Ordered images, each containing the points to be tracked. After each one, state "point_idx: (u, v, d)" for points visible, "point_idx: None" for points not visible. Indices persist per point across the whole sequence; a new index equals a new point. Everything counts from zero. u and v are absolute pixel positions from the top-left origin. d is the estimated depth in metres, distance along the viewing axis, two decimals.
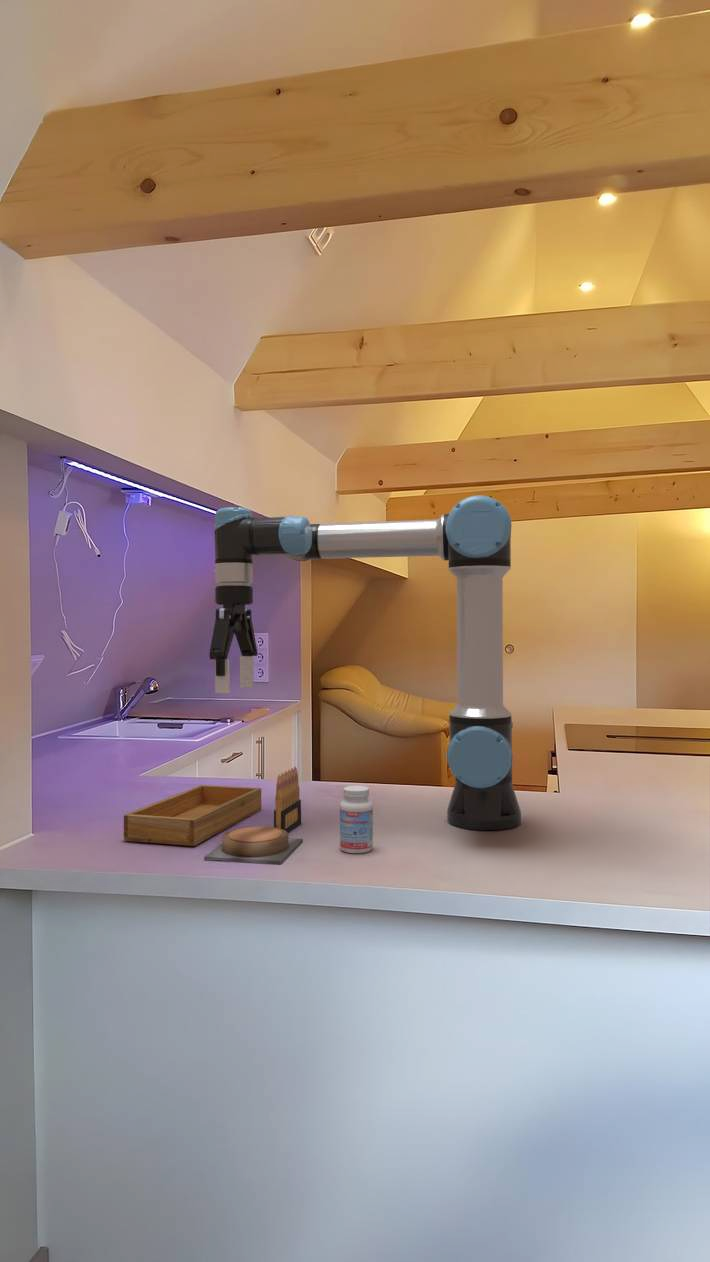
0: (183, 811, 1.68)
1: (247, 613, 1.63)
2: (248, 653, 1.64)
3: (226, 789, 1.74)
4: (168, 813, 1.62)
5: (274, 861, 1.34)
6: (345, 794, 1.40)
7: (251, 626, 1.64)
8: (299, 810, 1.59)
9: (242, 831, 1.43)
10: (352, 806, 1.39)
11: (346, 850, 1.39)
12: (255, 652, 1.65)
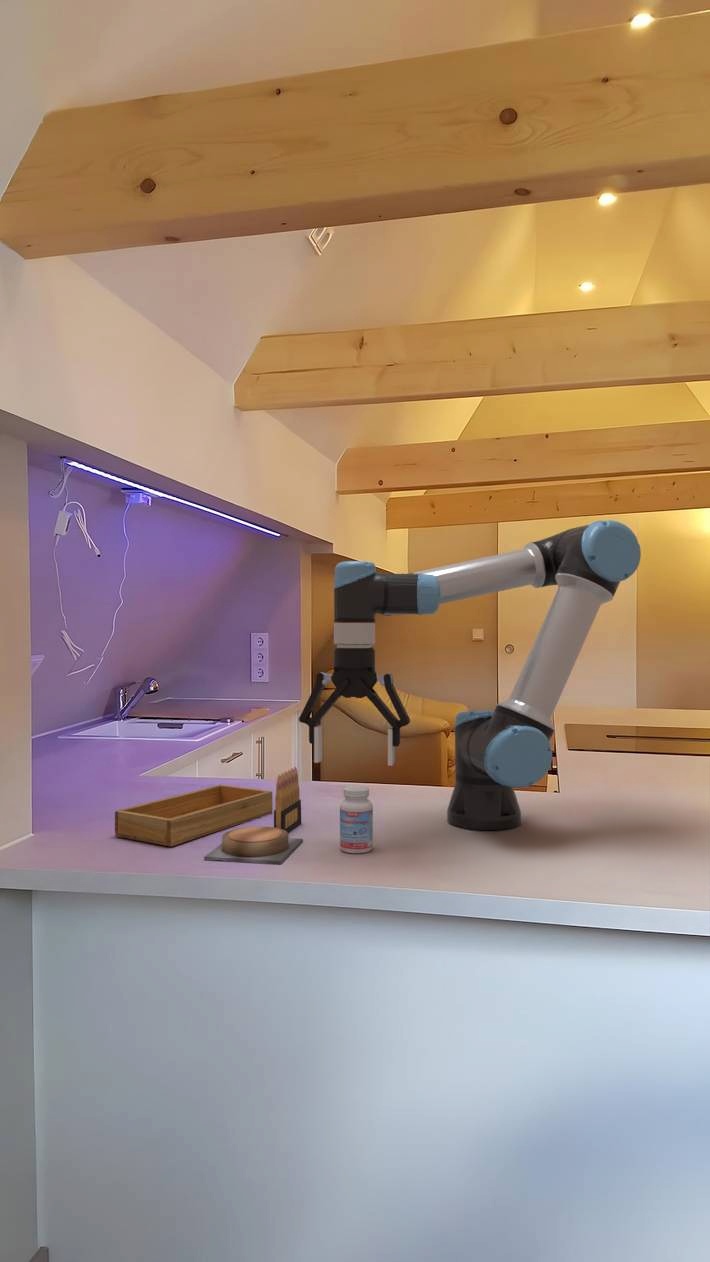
0: (193, 810, 1.69)
1: None
2: None
3: (241, 790, 1.73)
4: (173, 812, 1.63)
5: (274, 861, 1.34)
6: (345, 794, 1.40)
7: (390, 694, 1.39)
8: (299, 810, 1.59)
9: (242, 831, 1.43)
10: (352, 806, 1.39)
11: (346, 850, 1.39)
12: (395, 725, 1.38)
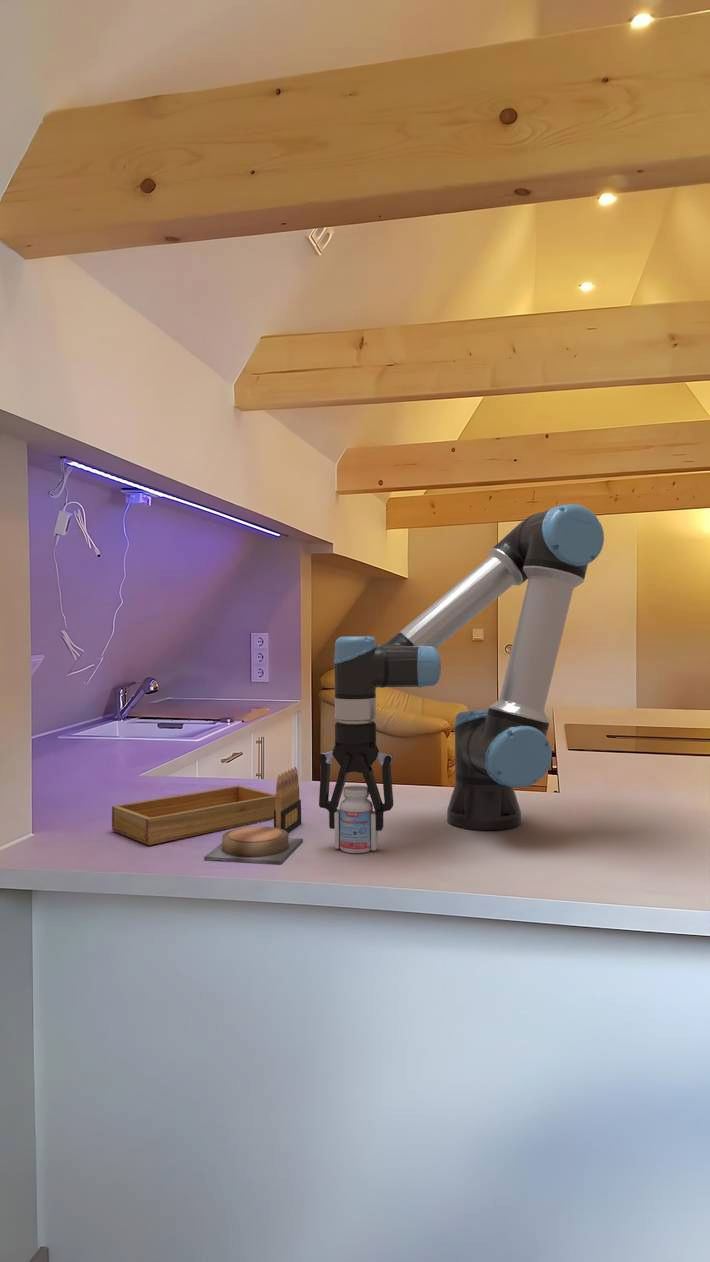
0: None
1: (384, 758, 1.40)
2: None
3: (253, 792, 1.71)
4: (179, 810, 1.65)
5: (274, 861, 1.34)
6: (345, 794, 1.40)
7: (384, 776, 1.39)
8: (299, 810, 1.59)
9: (242, 831, 1.43)
10: (352, 806, 1.39)
11: (346, 850, 1.39)
12: (378, 810, 1.39)
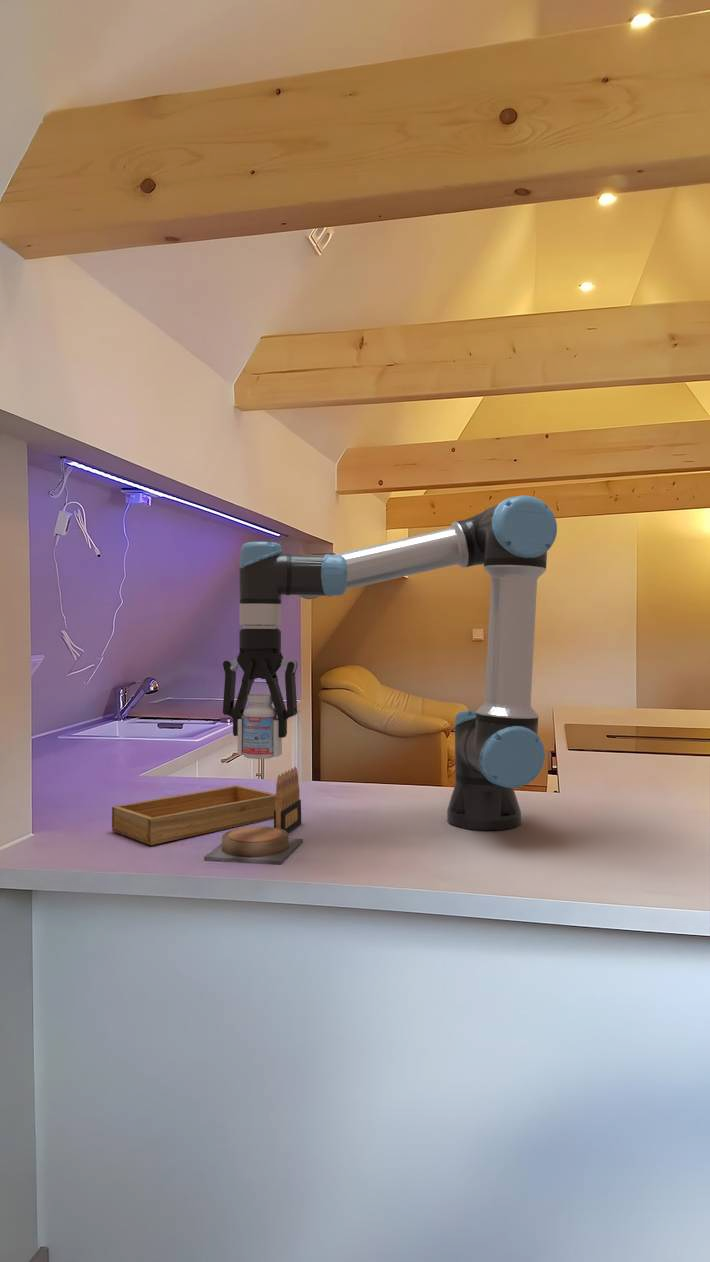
0: None
1: None
2: None
3: (252, 792, 1.71)
4: (179, 810, 1.65)
5: (274, 861, 1.34)
6: (248, 700, 1.40)
7: (287, 681, 1.39)
8: (299, 810, 1.59)
9: (242, 831, 1.43)
10: (254, 712, 1.38)
11: (248, 755, 1.39)
12: (280, 716, 1.39)
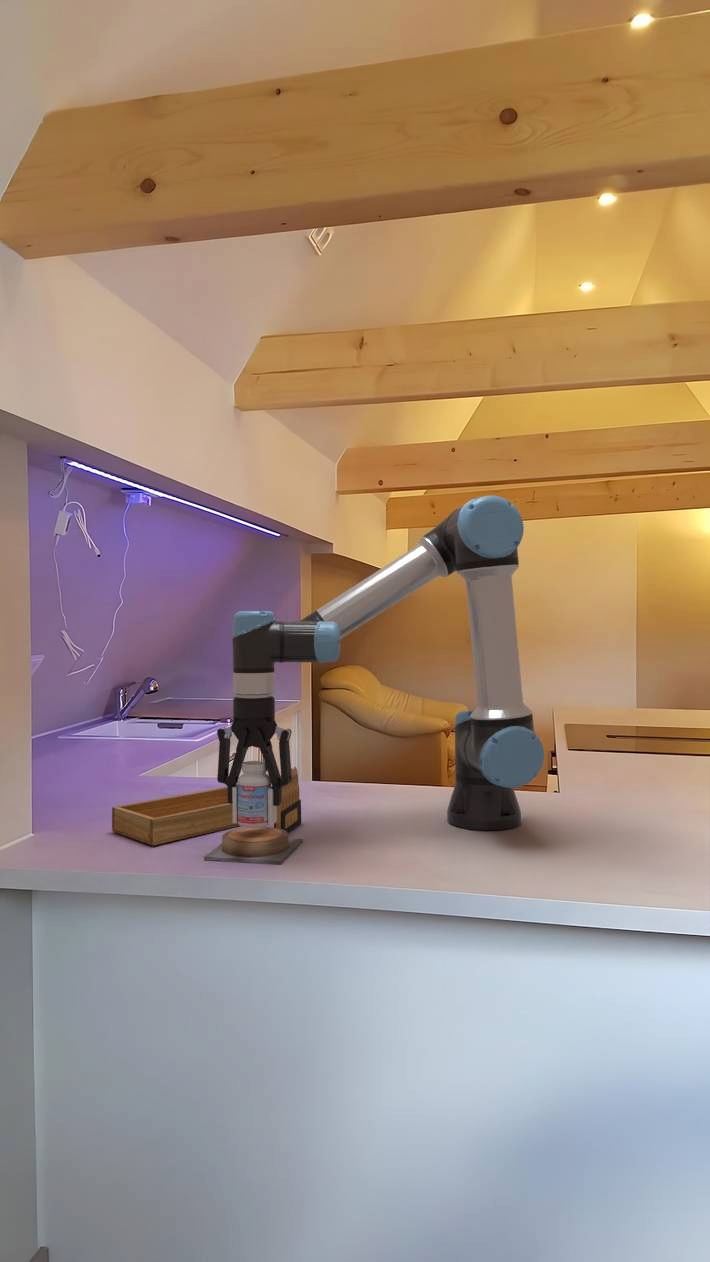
0: None
1: None
2: None
3: None
4: (178, 810, 1.64)
5: (274, 861, 1.34)
6: (242, 768, 1.40)
7: (281, 750, 1.39)
8: (299, 810, 1.59)
9: (242, 831, 1.43)
10: (248, 781, 1.39)
11: (242, 824, 1.39)
12: (275, 785, 1.39)
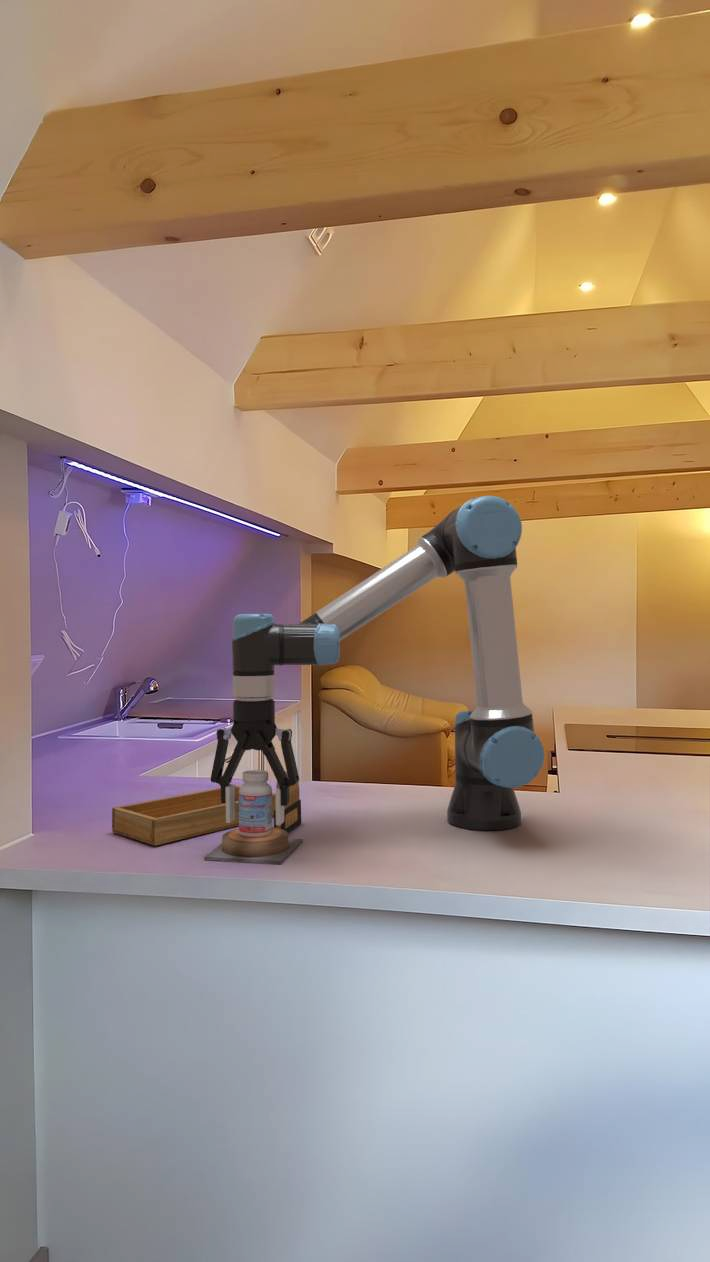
0: None
1: None
2: None
3: None
4: (177, 810, 1.64)
5: (274, 861, 1.34)
6: (243, 778, 1.40)
7: (284, 751, 1.39)
8: (299, 810, 1.59)
9: None
10: (249, 790, 1.39)
11: (243, 834, 1.39)
12: (282, 785, 1.39)
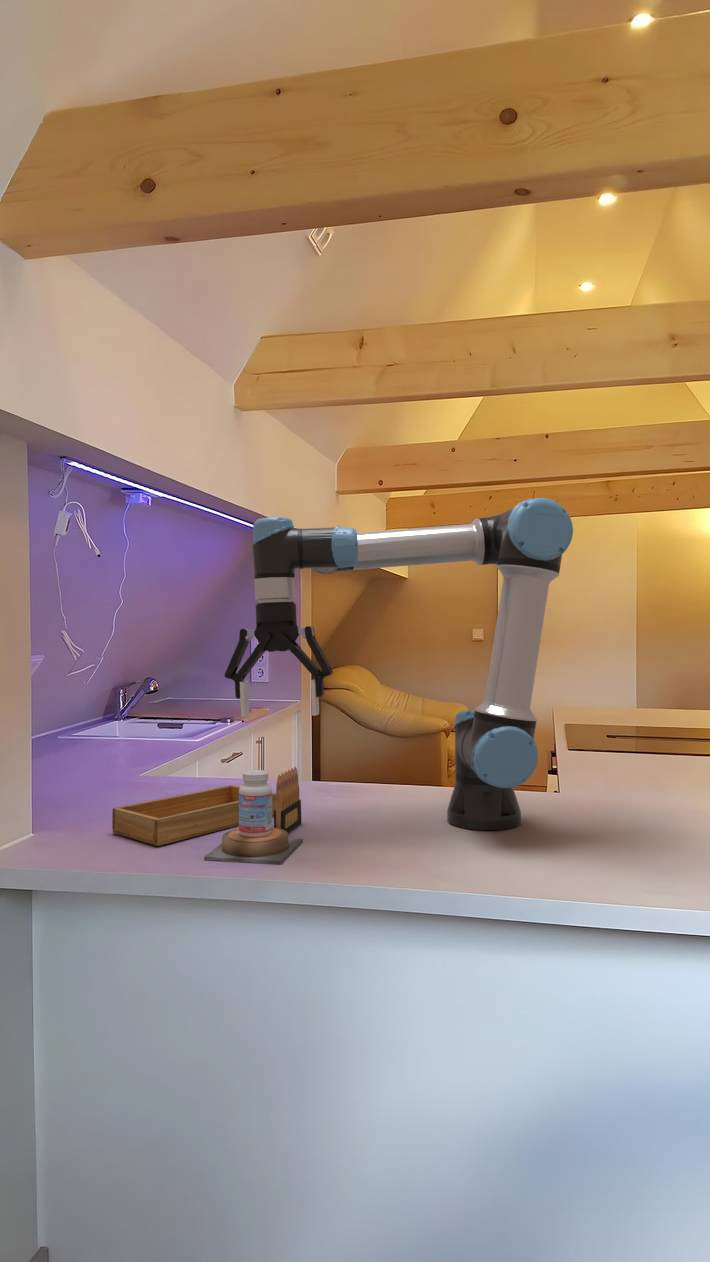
0: None
1: None
2: None
3: None
4: (176, 811, 1.64)
5: (274, 861, 1.34)
6: (243, 778, 1.40)
7: (311, 645, 1.42)
8: (299, 810, 1.59)
9: None
10: (249, 790, 1.39)
11: (244, 834, 1.39)
12: (317, 675, 1.42)
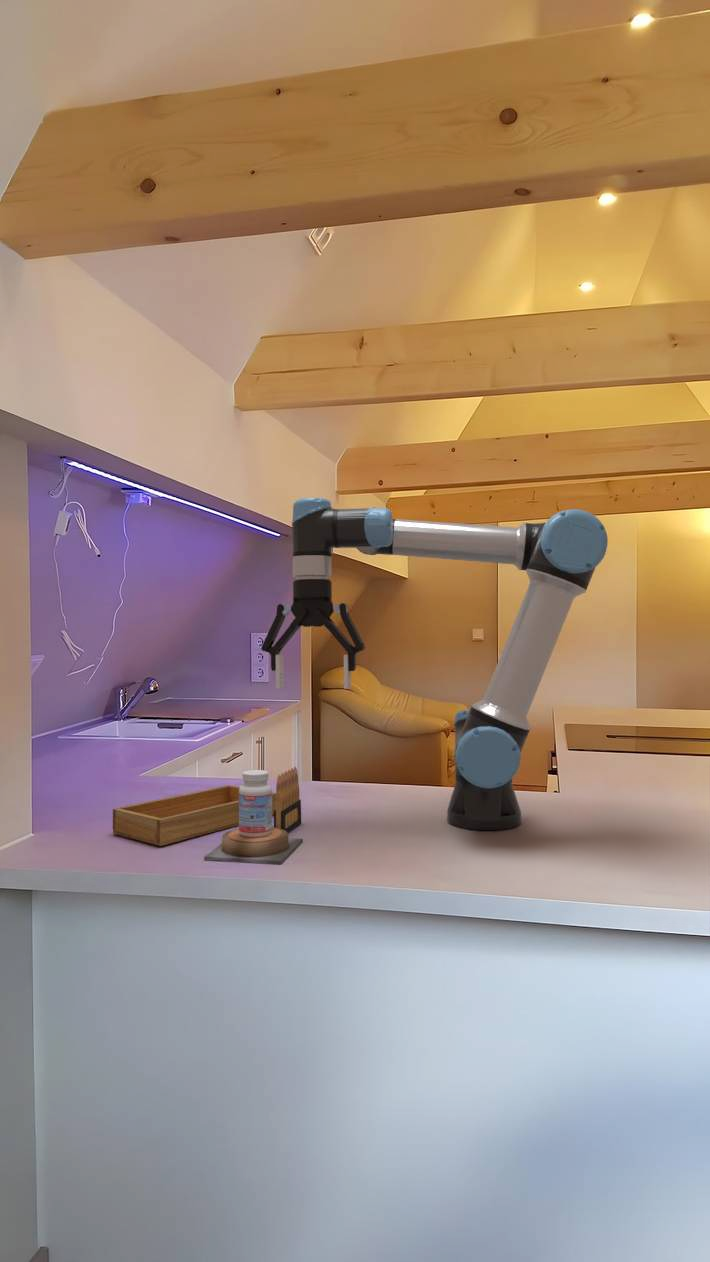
0: (199, 810, 1.69)
1: None
2: None
3: None
4: (176, 811, 1.64)
5: (274, 861, 1.34)
6: (243, 778, 1.40)
7: (345, 621, 1.49)
8: (299, 810, 1.59)
9: None
10: (249, 790, 1.39)
11: (244, 834, 1.39)
12: (350, 650, 1.48)
